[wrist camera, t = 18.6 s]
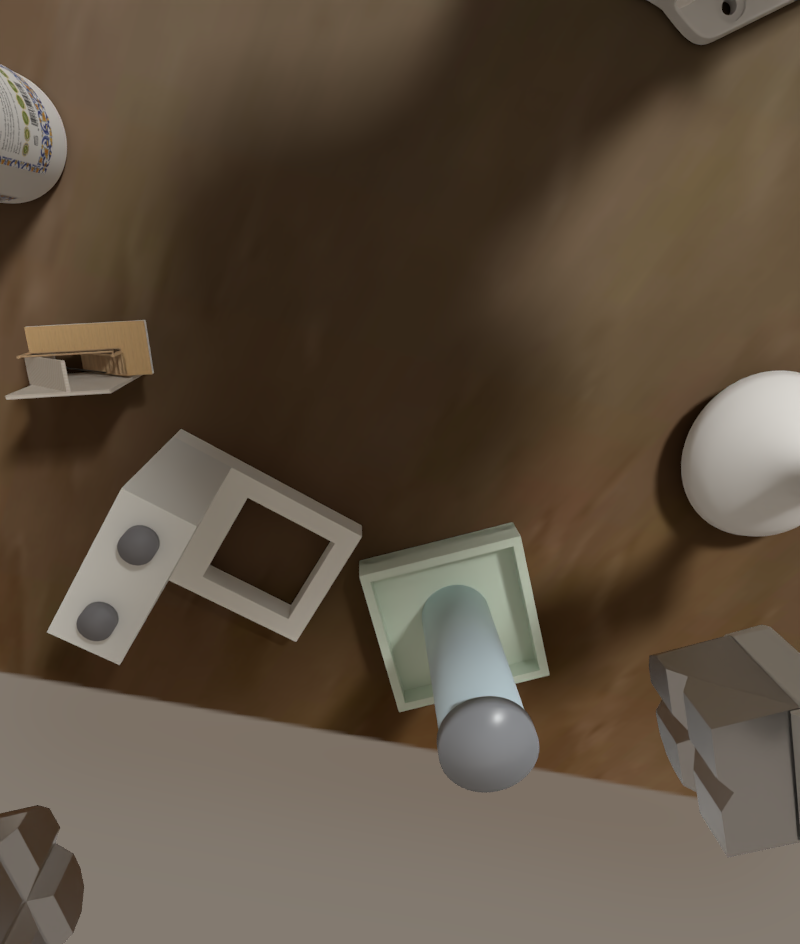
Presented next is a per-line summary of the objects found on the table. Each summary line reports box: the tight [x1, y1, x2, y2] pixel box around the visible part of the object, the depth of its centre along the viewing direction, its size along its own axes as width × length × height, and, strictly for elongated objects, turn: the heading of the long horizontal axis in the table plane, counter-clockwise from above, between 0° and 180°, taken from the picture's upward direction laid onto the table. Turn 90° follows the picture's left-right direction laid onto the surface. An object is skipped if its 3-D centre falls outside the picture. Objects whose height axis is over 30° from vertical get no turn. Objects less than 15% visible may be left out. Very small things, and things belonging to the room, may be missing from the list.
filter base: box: [47, 429, 362, 665], centre depth 42 cm, size 14×9×13 cm, turn 59°
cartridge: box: [422, 585, 539, 792], centre depth 43 cm, size 5×5×14 cm
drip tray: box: [359, 522, 550, 712], centre depth 49 cm, size 11×11×2 cm
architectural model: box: [6, 320, 154, 400], centre depth 40 cm, size 3×7×7 cm, turn 93°
